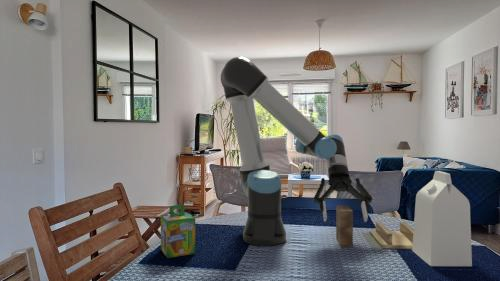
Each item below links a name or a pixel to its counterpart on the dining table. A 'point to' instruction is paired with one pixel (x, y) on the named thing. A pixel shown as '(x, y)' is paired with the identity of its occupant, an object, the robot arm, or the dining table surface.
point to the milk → (442, 224)
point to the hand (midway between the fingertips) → (345, 219)
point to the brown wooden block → (344, 226)
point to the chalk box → (177, 233)
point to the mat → (374, 243)
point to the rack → (393, 236)
